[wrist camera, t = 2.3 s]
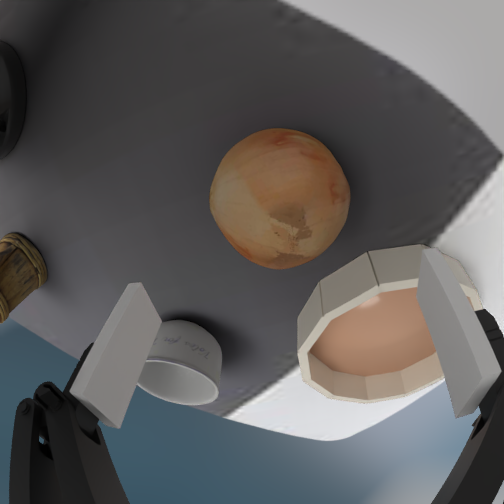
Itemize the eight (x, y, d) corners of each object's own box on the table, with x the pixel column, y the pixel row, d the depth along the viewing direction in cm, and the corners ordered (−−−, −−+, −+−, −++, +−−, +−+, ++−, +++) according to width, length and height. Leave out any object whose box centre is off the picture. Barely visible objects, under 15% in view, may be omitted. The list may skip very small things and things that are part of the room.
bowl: (286, 261, 30) (286, 295, 26) (483, 235, 26) (505, 262, 22) (307, 380, 42) (307, 410, 38) (447, 358, 38) (455, 385, 34)
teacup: (224, 311, 35) (211, 367, 29) (231, 364, 42) (222, 413, 35) (119, 301, 37) (93, 348, 30) (141, 353, 43) (123, 396, 36)
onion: (207, 135, 24) (165, 177, 16) (327, 106, 22) (353, 133, 14) (241, 232, 29) (223, 308, 21) (347, 212, 27) (370, 285, 19)
